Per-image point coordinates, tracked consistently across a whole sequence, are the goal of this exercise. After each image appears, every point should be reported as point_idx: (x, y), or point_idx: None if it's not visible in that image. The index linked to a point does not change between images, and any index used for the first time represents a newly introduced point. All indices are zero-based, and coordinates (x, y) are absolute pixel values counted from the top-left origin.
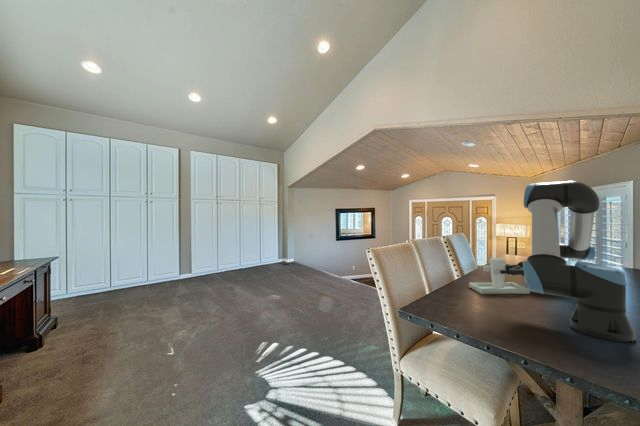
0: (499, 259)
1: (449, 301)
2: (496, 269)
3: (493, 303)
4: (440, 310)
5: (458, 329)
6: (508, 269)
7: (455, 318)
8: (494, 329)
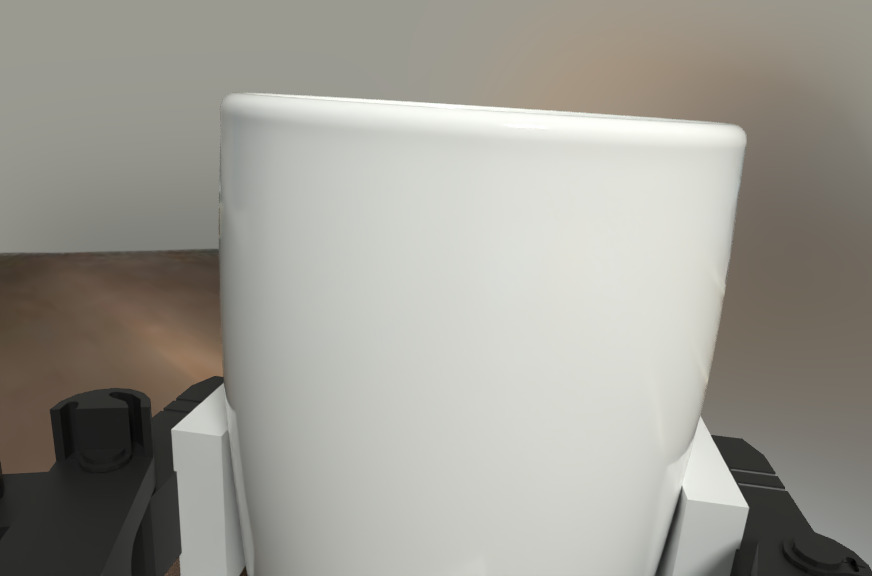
0: (626, 205)
1: None
2: None
3: None
4: None
5: (117, 255)
6: (83, 438)
7: (175, 275)
8: (4, 288)
